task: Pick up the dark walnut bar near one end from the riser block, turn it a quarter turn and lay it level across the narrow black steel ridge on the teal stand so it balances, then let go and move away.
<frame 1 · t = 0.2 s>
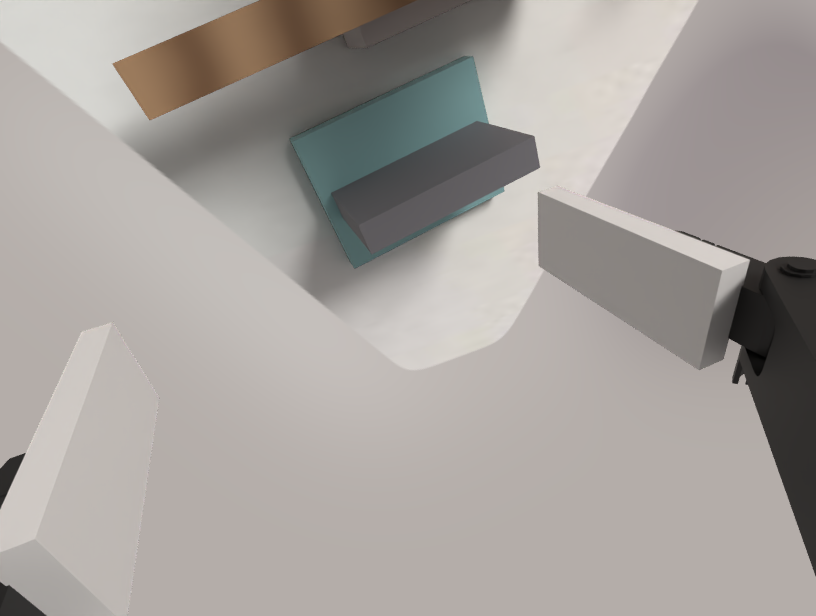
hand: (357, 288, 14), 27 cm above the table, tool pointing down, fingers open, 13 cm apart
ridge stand: (404, 165, 40), on the table
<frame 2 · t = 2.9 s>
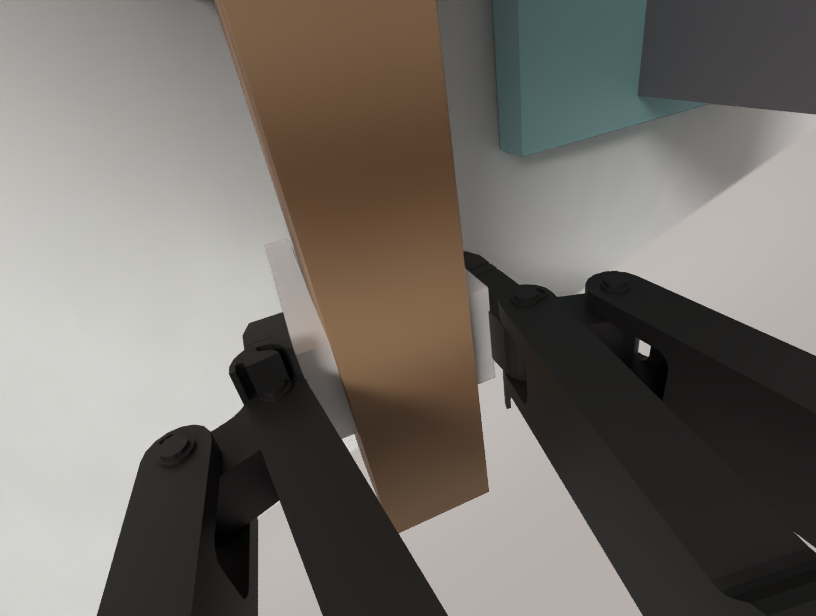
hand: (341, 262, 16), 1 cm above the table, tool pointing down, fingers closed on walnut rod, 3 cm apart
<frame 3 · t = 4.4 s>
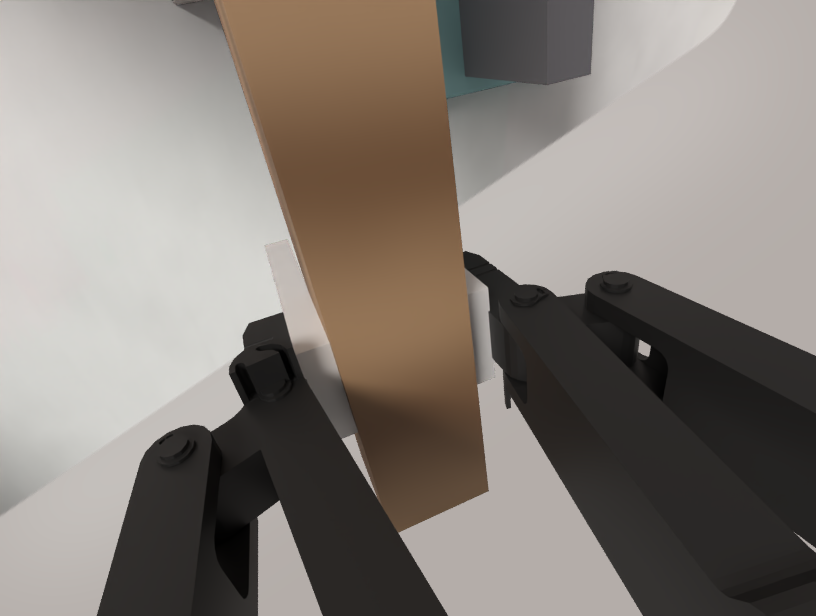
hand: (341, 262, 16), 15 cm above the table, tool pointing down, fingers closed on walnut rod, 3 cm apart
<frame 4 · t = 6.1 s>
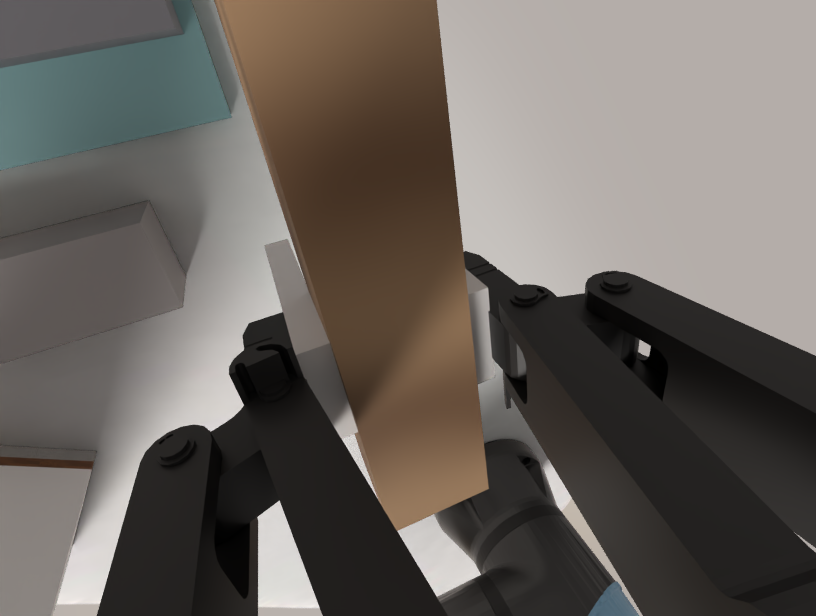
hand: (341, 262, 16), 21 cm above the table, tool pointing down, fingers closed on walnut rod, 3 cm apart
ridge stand: (47, 34, 26), on the table
tall open-top box: (7, 498, 38), on the table
riser block: (45, 274, 31), on the table
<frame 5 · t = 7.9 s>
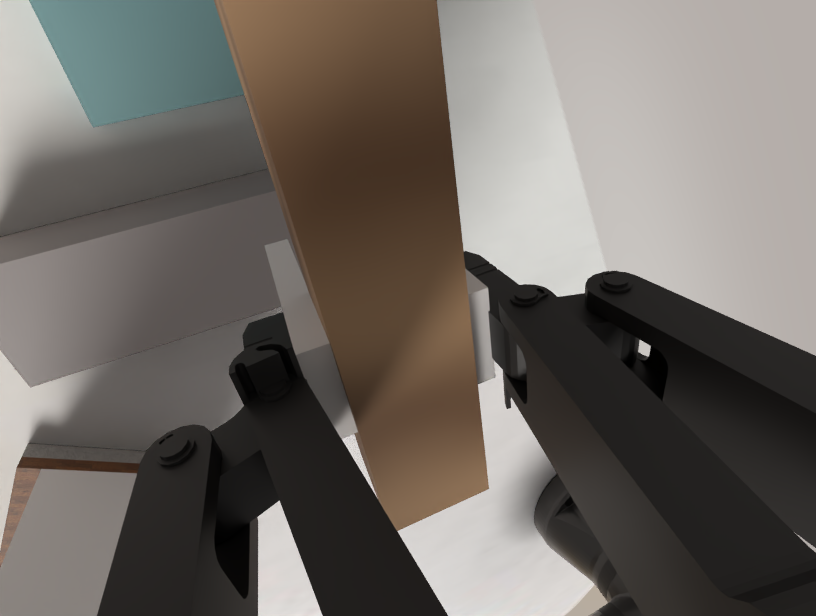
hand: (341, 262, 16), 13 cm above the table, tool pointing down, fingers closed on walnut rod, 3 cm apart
tall open-top box: (109, 509, 33), on the table
riser block: (181, 247, 26), on the table
when the fingers open (8 cm above the table, at t = 9.2 s): walnut rod drops 1 cm, resting on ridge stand.
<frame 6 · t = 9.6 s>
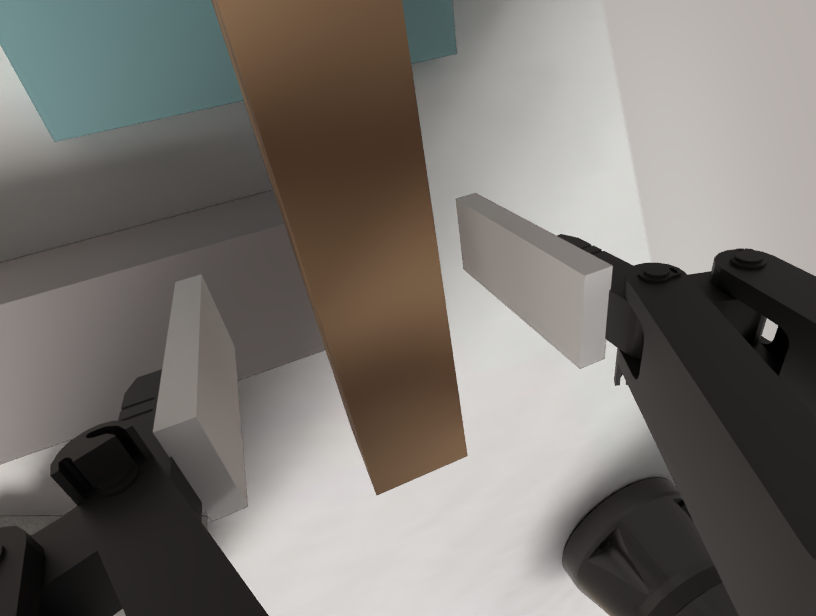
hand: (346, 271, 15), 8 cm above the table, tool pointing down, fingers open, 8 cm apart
tall open-top box: (89, 580, 28), on the table
riser block: (171, 284, 22), on the table
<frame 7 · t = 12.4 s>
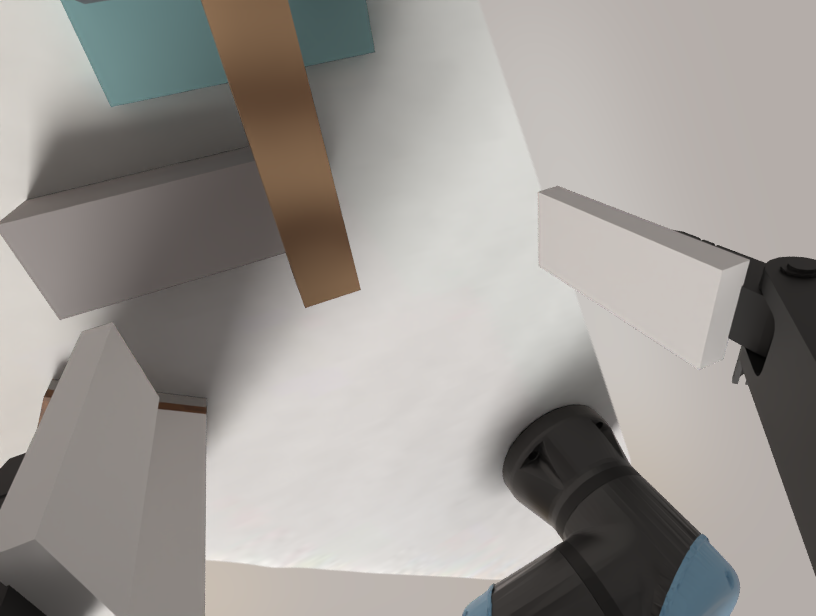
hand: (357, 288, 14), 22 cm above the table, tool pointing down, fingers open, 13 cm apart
tall open-top box: (119, 443, 38), on the table
riser block: (182, 210, 31), on the table
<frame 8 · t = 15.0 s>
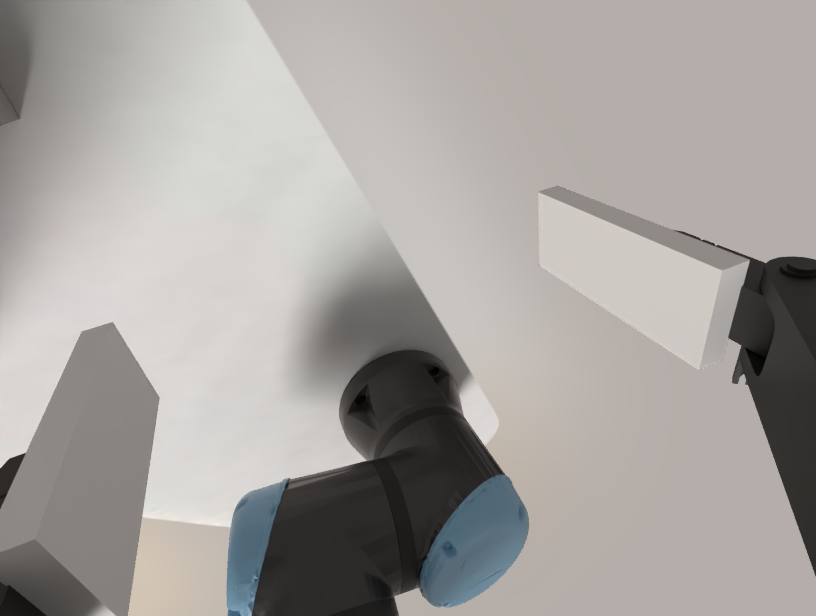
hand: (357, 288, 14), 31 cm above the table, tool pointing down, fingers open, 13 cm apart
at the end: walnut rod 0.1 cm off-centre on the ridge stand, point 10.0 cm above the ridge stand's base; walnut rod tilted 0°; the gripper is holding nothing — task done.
